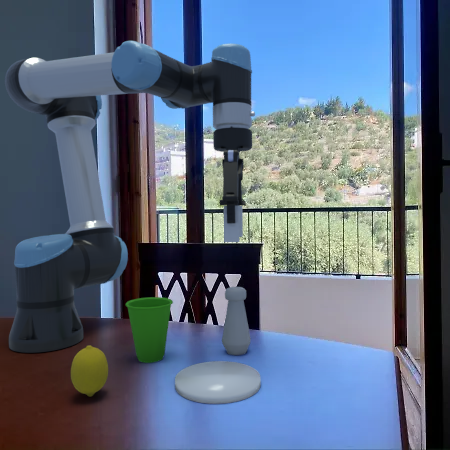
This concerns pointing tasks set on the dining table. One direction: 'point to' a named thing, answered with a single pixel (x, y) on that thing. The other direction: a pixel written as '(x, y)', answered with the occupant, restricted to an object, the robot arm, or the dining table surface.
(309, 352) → the dining table surface
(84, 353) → the lemon
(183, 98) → the robot arm
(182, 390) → the ceramic plate
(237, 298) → the salt shaker
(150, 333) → the cup
